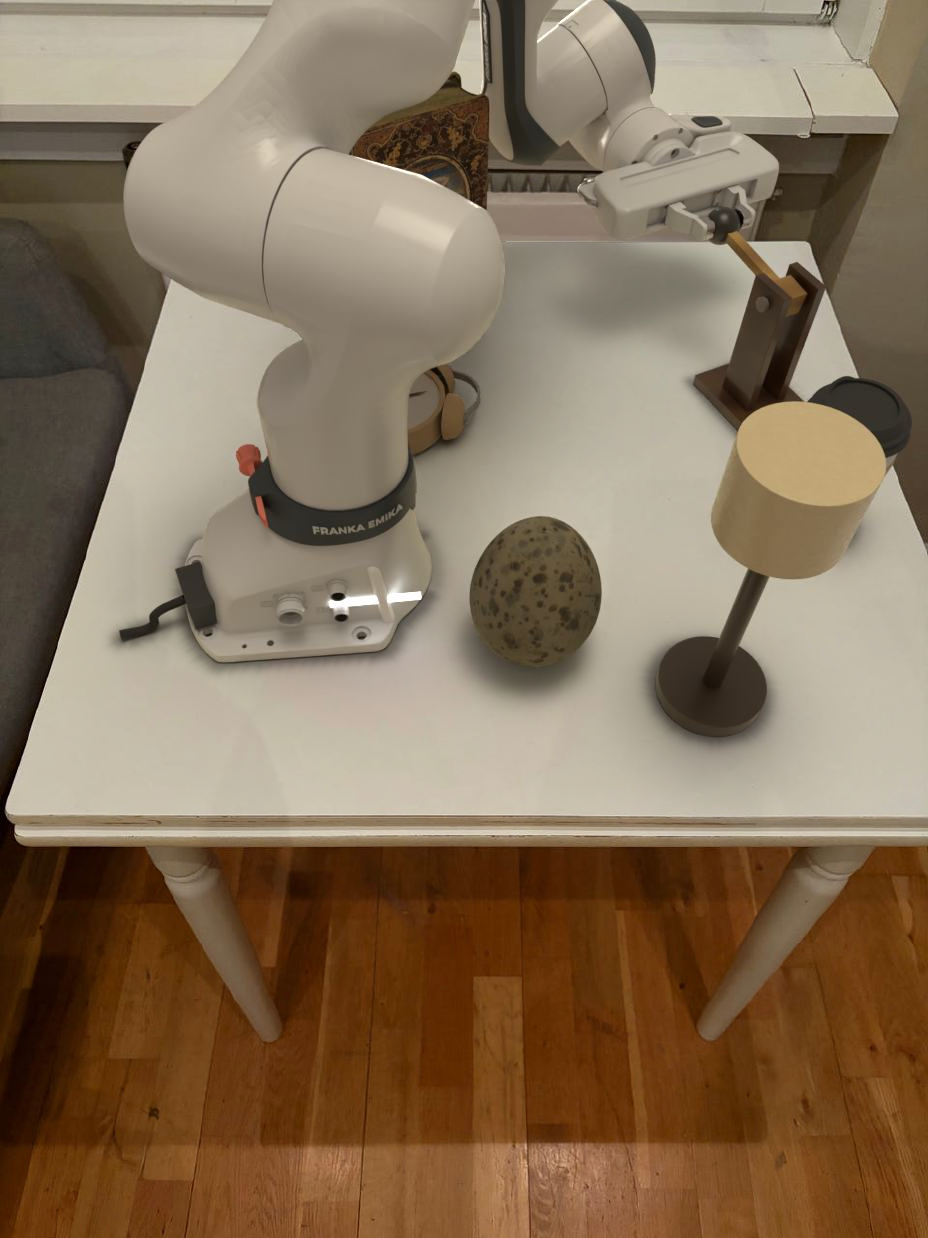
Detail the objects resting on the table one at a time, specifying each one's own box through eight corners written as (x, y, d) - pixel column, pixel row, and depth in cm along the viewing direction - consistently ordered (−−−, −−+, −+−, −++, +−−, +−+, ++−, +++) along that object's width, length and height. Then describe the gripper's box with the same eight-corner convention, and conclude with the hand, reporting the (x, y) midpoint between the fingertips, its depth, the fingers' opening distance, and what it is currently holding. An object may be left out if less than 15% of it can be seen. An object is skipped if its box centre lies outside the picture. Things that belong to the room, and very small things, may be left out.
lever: (692, 234, 97) (702, 203, 94) (721, 225, 98) (731, 195, 95) (772, 325, 92) (785, 296, 88) (801, 315, 93) (816, 286, 89)
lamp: (681, 748, 77) (779, 519, 54) (638, 659, 82) (711, 415, 59) (780, 721, 79) (916, 488, 56) (732, 636, 84) (839, 389, 61)
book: (358, 364, 104) (335, 138, 84) (335, 336, 107) (308, 111, 87) (483, 316, 109) (491, 92, 89) (458, 291, 112) (460, 68, 92)
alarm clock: (324, 374, 99) (461, 332, 99) (337, 408, 103) (468, 368, 103) (343, 449, 92) (489, 404, 92) (356, 482, 96) (496, 439, 97)
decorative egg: (557, 714, 79) (577, 607, 67) (445, 660, 82) (445, 548, 70) (610, 622, 84) (638, 508, 72) (503, 575, 87) (512, 458, 75)
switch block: (693, 383, 103) (725, 262, 91) (752, 362, 105) (791, 242, 93) (748, 441, 98) (790, 321, 86) (809, 418, 100) (858, 298, 88)
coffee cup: (878, 528, 91) (945, 410, 79) (812, 569, 88) (871, 452, 76) (809, 471, 95) (862, 351, 83) (744, 508, 92) (789, 389, 80)
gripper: (572, 155, 97) (646, 224, 90) (736, 111, 102) (818, 173, 95) (567, 212, 102) (636, 282, 95) (723, 168, 107) (800, 231, 100)
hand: (728, 227), depth 95 cm, fingers closed on lever, 3 cm apart
